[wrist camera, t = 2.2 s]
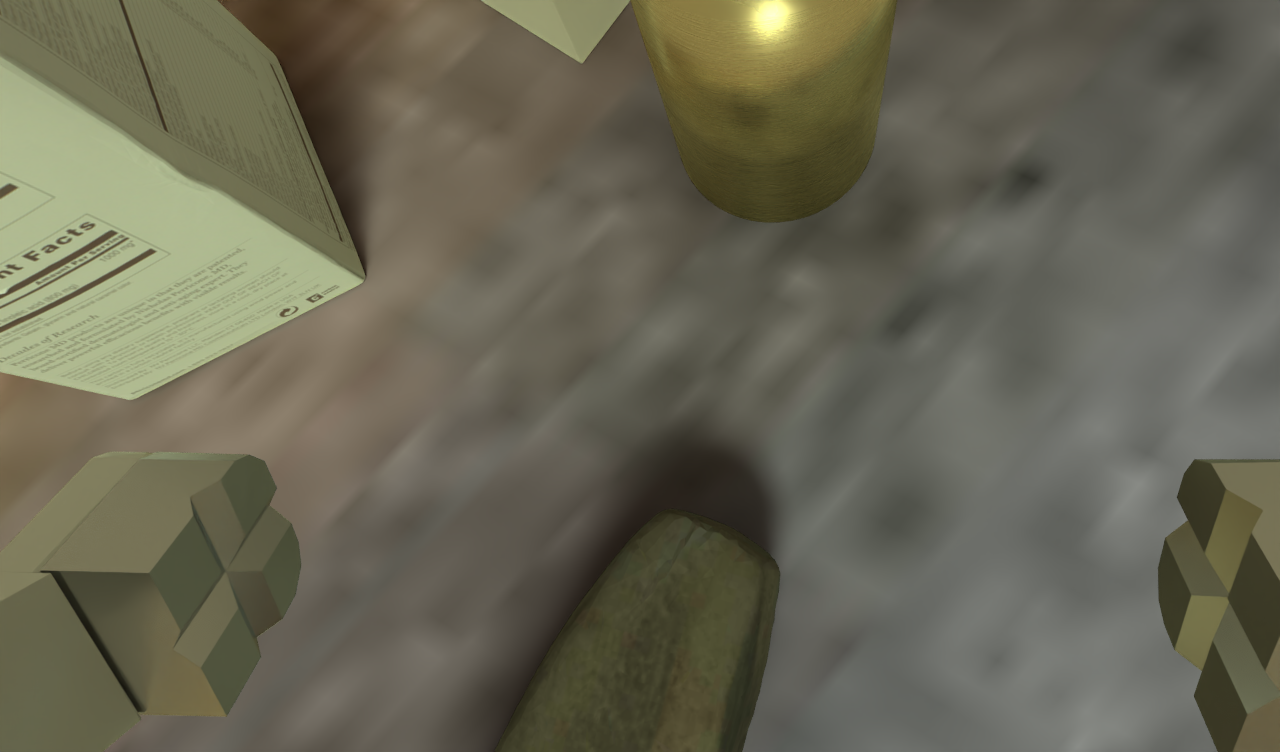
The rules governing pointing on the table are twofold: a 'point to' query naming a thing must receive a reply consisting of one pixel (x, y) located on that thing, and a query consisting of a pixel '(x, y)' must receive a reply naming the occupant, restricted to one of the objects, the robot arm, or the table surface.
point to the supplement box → (152, 193)
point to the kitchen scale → (564, 21)
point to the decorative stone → (658, 648)
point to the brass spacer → (770, 96)
